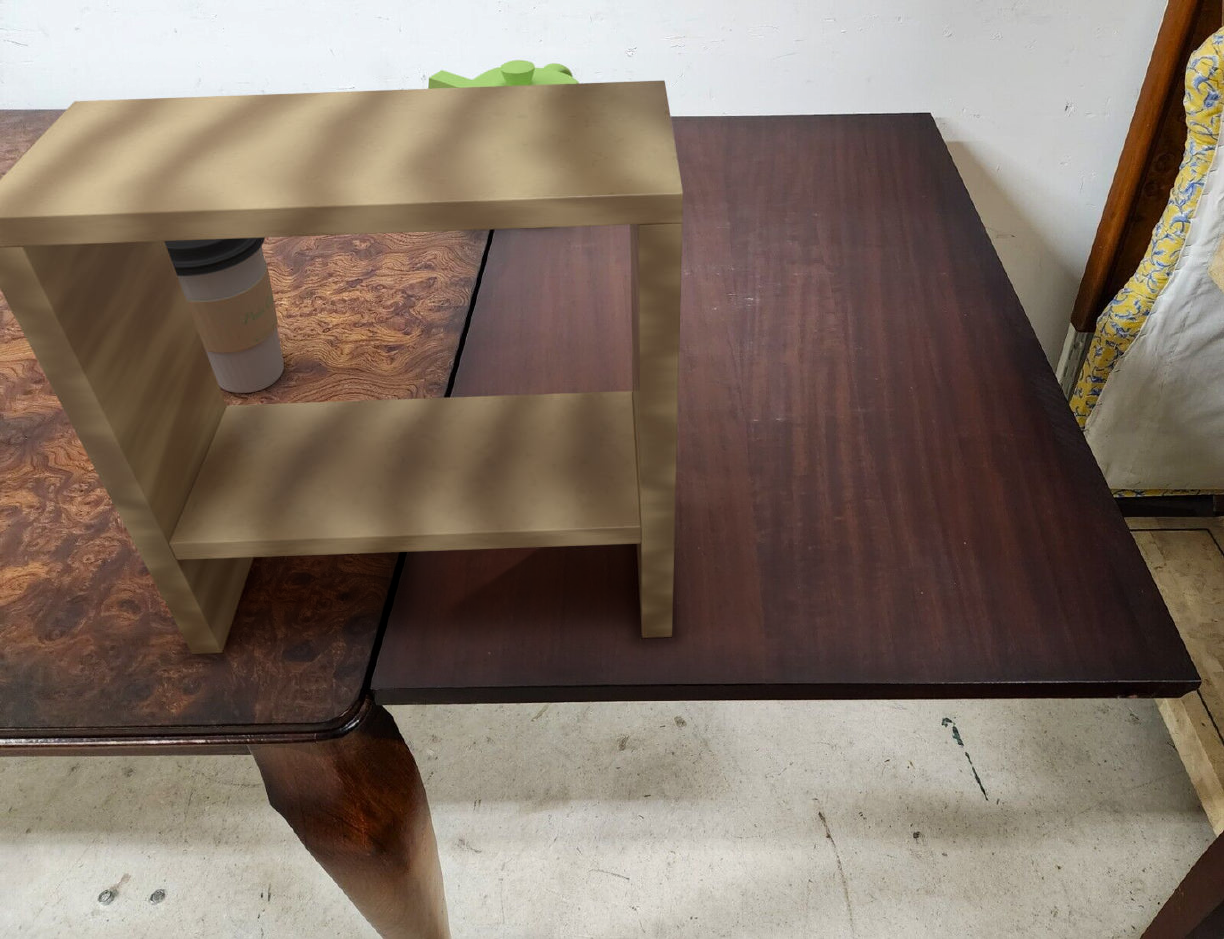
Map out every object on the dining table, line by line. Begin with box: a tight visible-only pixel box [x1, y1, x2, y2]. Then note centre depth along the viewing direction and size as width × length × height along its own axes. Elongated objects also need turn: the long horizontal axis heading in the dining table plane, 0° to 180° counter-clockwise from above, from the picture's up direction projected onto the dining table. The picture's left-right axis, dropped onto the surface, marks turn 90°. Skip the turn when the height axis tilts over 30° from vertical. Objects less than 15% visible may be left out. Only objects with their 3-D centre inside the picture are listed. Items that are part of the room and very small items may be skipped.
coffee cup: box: [164, 237, 285, 394], centre depth 83 cm, size 9×9×15 cm
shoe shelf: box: [0, 79, 684, 655], centre depth 59 cm, size 32×13×32 cm, turn 91°
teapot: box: [427, 59, 580, 89], centre depth 106 cm, size 19×20×14 cm
